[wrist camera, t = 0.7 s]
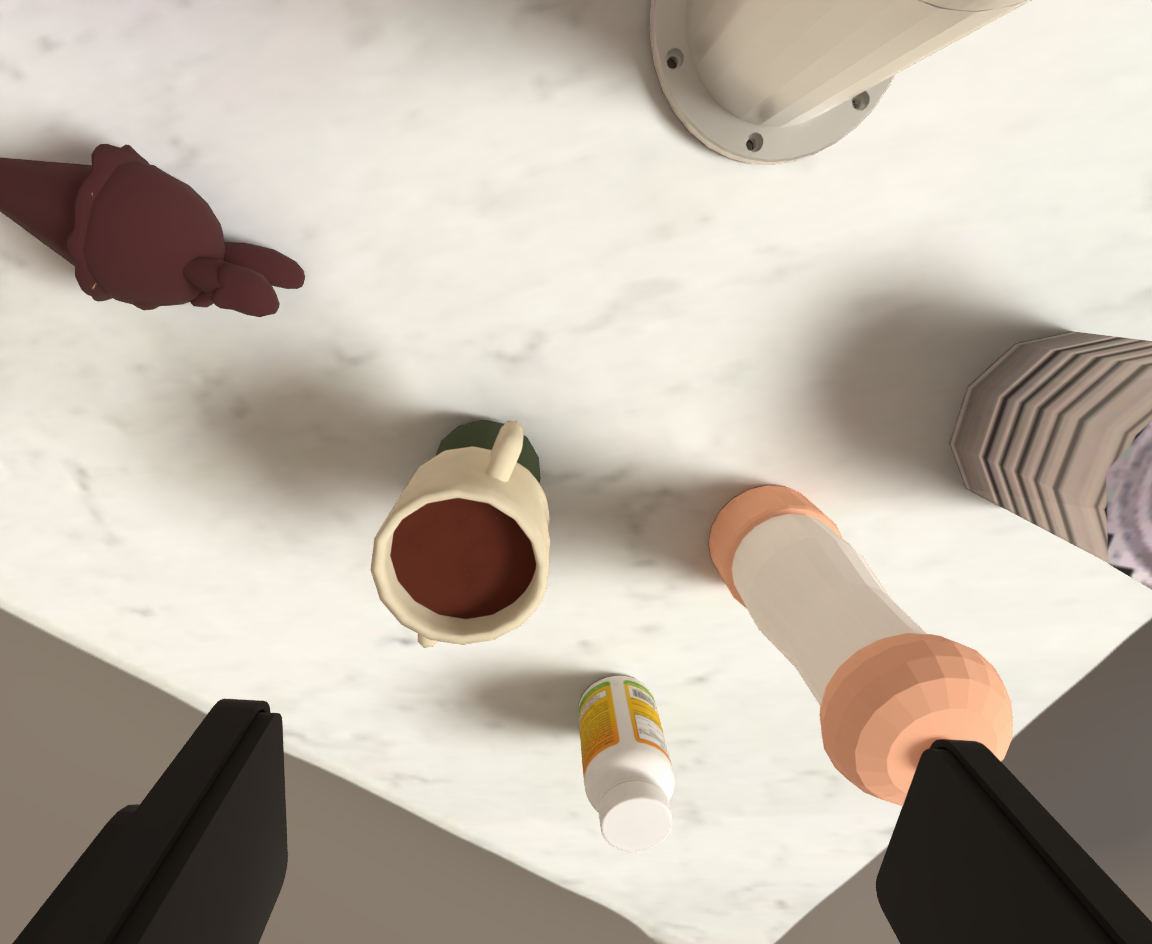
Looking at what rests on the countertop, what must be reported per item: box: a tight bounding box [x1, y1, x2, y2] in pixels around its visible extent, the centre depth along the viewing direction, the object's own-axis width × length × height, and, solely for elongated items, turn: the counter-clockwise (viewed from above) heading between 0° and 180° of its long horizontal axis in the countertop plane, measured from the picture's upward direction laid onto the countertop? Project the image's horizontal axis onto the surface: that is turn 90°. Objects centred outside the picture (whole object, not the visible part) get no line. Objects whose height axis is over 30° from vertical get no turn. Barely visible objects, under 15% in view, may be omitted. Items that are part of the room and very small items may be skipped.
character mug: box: [371, 420, 550, 648], centre depth 30 cm, size 11×7×13 cm, turn 156°
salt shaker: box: [709, 485, 1013, 806], centre depth 30 cm, size 7×7×19 cm
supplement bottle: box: [578, 676, 674, 852], centre depth 38 cm, size 5×5×10 cm
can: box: [950, 332, 1152, 589], centre depth 32 cm, size 11×11×12 cm
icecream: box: [0, 144, 305, 317], centre depth 28 cm, size 7×7×15 cm
